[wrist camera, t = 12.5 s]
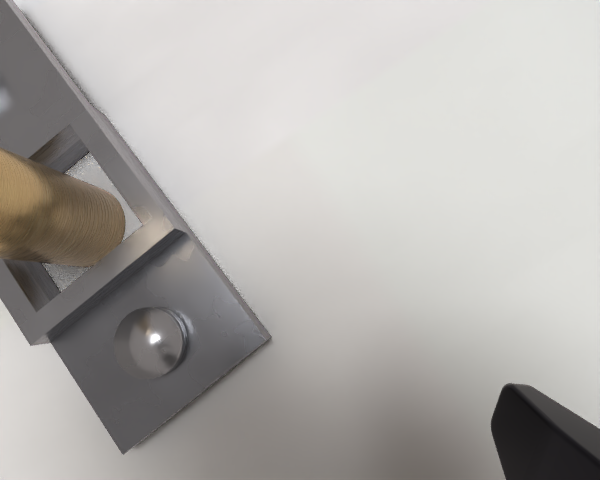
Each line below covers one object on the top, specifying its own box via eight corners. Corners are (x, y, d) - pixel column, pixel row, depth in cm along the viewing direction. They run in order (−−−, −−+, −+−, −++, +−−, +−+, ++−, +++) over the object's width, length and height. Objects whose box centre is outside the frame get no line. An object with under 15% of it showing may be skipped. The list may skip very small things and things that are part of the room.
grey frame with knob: (271, 337, 21) (254, 344, 17) (136, 445, 21) (95, 473, 18) (25, 8, 25) (-26, -35, 21) (-87, 103, 25) (-154, 74, 22)
